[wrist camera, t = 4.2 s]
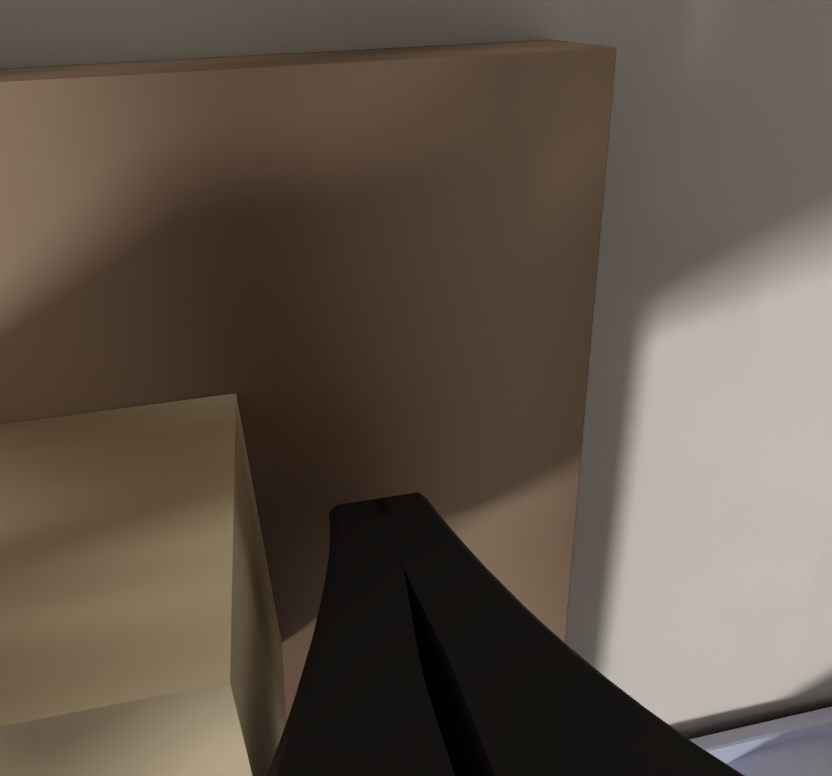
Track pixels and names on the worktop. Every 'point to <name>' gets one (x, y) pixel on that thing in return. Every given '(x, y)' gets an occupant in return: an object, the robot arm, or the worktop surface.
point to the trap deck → (325, 280)
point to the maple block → (135, 597)
